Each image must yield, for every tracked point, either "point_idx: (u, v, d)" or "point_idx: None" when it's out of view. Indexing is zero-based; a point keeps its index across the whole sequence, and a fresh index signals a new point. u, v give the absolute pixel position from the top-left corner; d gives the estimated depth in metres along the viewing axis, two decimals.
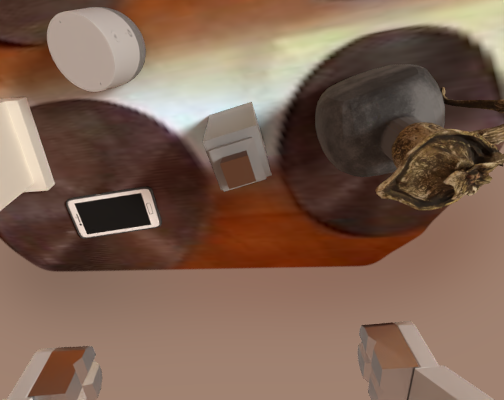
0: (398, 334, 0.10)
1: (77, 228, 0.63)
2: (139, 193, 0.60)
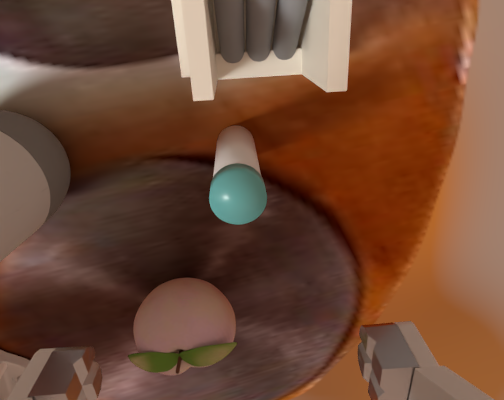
0: (398, 334, 0.10)
1: None
2: None
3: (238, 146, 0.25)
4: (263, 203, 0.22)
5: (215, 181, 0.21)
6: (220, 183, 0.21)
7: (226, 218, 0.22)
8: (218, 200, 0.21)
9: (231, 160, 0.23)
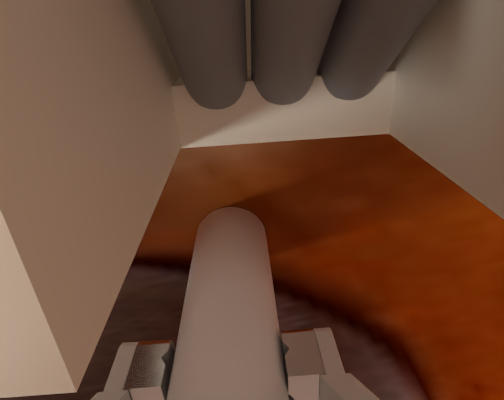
0: (313, 341, 0.10)
1: None
2: None
3: (231, 297, 0.11)
4: None
5: None
6: None
7: None
8: None
9: (211, 380, 0.08)
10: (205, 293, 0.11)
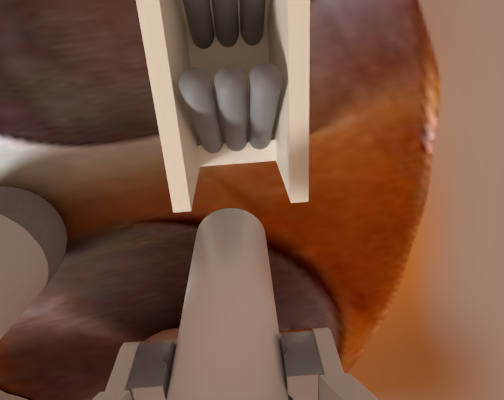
0: (312, 341, 0.10)
1: None
2: None
3: (231, 298, 0.11)
4: None
5: None
6: None
7: None
8: None
9: (211, 381, 0.08)
10: (205, 294, 0.11)
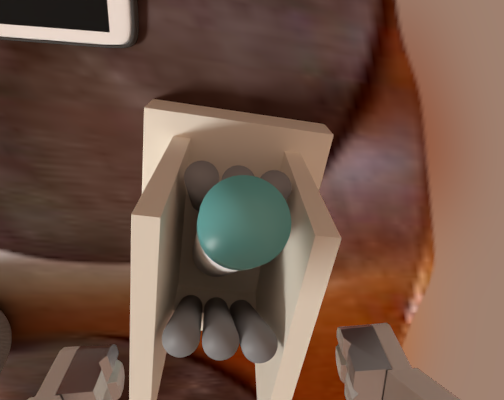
0: (373, 336, 0.10)
1: None
2: None
3: None
4: (286, 225, 0.13)
5: None
6: (216, 192, 0.13)
7: (228, 255, 0.13)
8: (213, 222, 0.13)
9: None
10: None
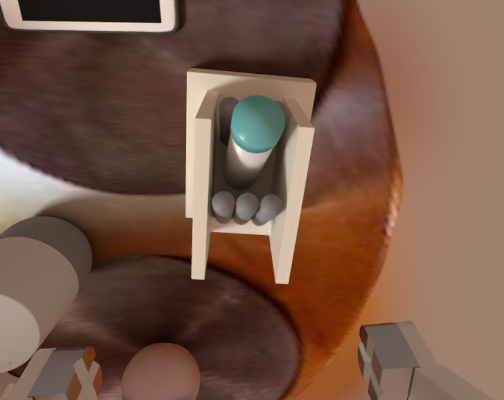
0: (398, 334, 0.10)
1: None
2: (25, 20, 0.30)
3: None
4: (282, 122, 0.23)
5: None
6: (241, 105, 0.23)
7: (250, 138, 0.23)
8: (240, 121, 0.23)
9: None
10: None
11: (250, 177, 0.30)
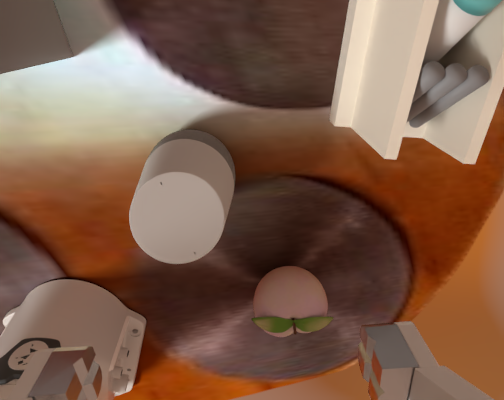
0: (398, 334, 0.10)
1: None
2: None
3: None
4: None
5: None
6: None
7: None
8: None
9: None
10: None
11: None
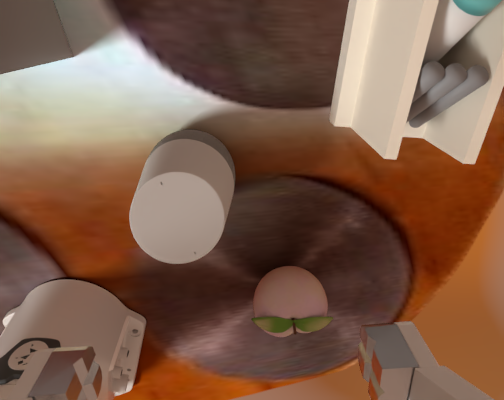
0: (398, 334, 0.10)
1: None
2: None
3: None
4: None
5: None
6: None
7: None
8: None
9: None
10: None
11: None
